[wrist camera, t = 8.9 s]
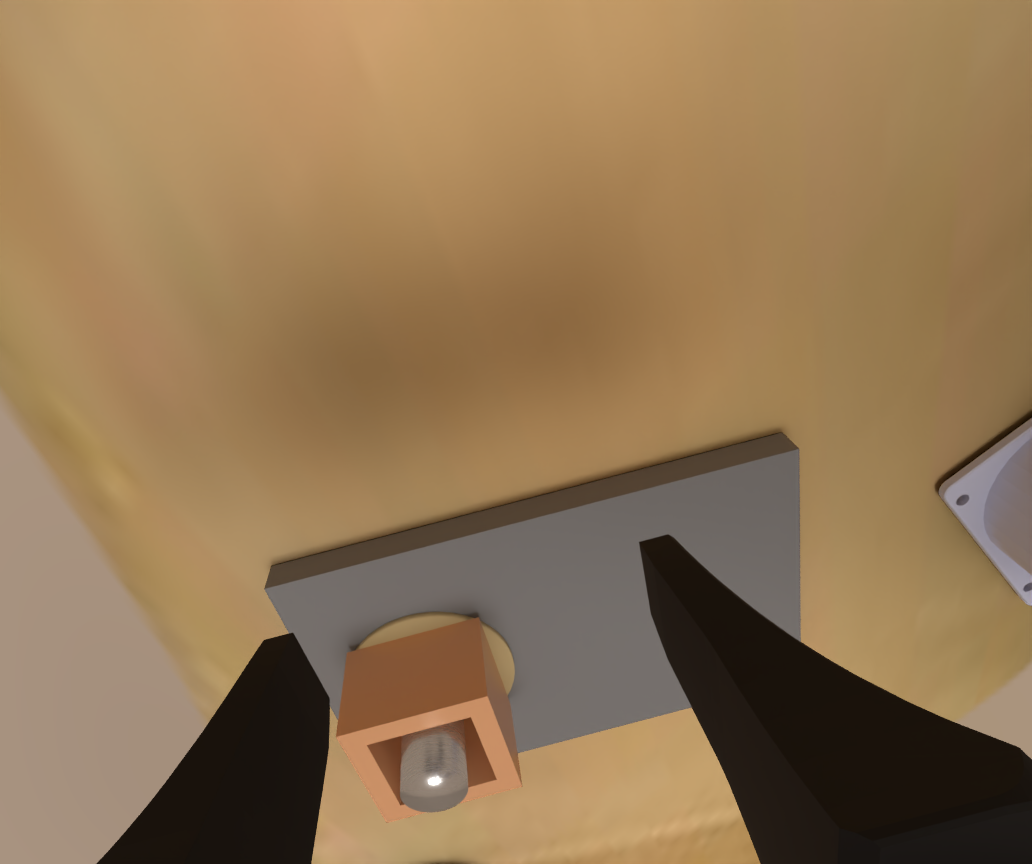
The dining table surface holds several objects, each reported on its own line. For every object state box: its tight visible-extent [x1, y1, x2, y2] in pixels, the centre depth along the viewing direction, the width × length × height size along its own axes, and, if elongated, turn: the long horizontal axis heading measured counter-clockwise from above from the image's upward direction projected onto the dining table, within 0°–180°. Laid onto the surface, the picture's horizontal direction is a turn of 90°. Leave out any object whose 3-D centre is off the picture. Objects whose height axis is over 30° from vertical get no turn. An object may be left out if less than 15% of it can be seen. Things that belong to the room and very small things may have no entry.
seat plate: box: [264, 433, 801, 753], centre depth 26 cm, size 19×12×2 cm, turn 103°
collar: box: [336, 617, 522, 823], centre depth 24 cm, size 5×5×4 cm
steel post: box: [400, 719, 468, 812], centre depth 24 cm, size 2×2×6 cm
